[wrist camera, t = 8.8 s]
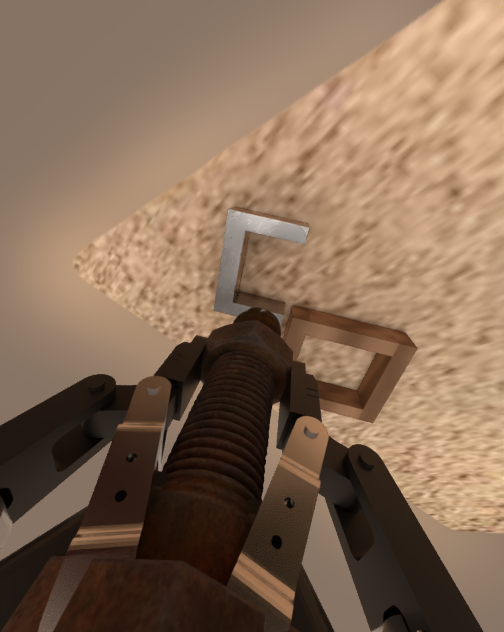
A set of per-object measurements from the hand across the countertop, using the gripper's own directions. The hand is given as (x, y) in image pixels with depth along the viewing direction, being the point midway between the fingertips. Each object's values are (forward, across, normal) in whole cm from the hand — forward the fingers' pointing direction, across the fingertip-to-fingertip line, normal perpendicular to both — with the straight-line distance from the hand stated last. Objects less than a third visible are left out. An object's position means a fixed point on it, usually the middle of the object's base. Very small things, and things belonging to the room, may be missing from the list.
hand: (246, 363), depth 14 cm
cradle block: (+19, +2, 0) cm, 19 cm away
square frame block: (+19, -10, +10) cm, 24 cm away
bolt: (+4, 0, 0) cm, 4 cm away
